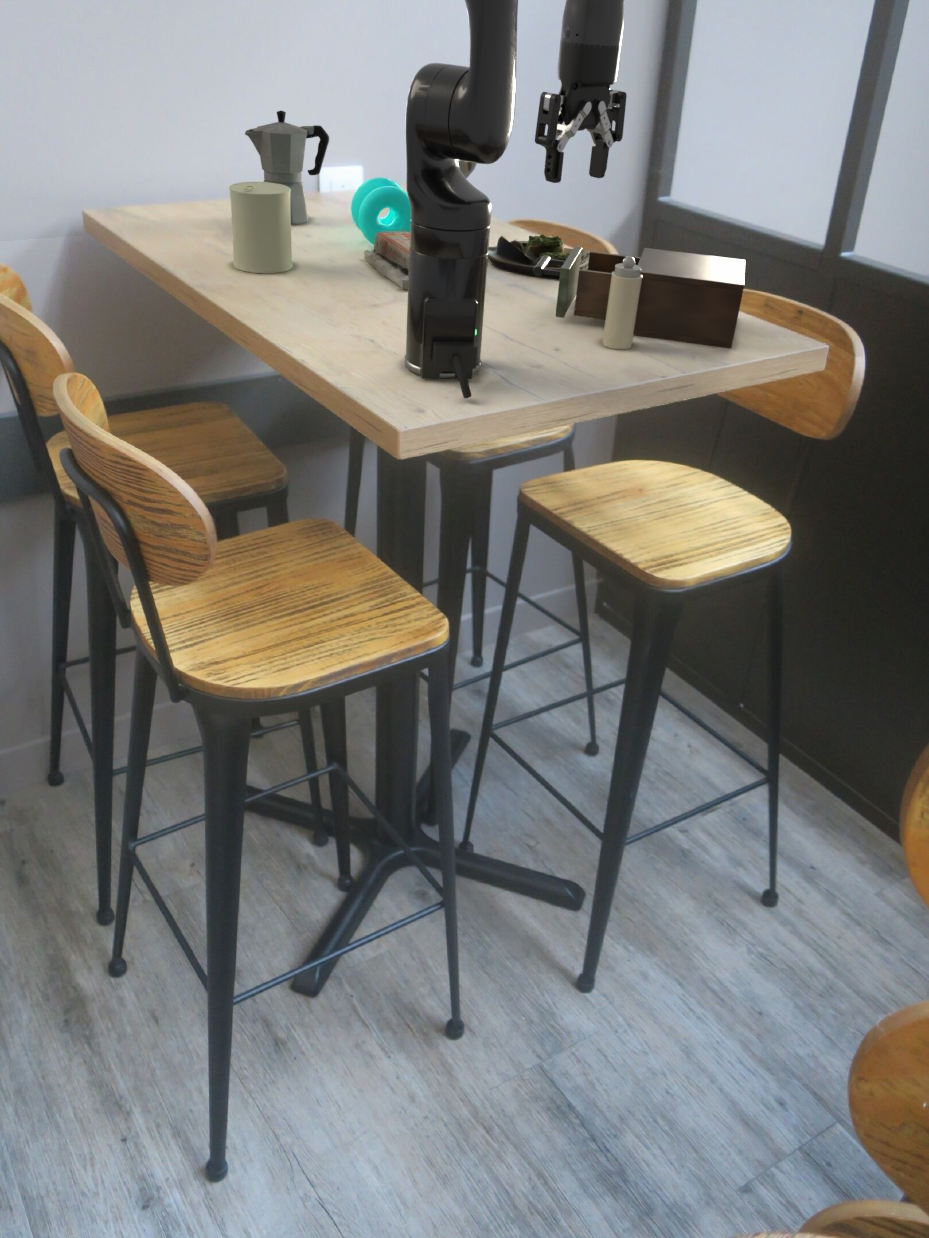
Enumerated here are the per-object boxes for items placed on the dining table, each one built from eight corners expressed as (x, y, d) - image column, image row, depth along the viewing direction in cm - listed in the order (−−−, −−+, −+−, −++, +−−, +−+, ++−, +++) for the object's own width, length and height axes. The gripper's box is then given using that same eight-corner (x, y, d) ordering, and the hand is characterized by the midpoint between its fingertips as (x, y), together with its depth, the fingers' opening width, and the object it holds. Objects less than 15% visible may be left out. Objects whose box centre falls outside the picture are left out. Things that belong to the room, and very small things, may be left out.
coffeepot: (257, 227, 185) (253, 115, 175) (241, 215, 192) (235, 106, 182) (338, 223, 191) (338, 115, 182) (320, 211, 198) (319, 107, 188)
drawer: (525, 313, 148) (530, 264, 145) (541, 289, 159) (546, 243, 156) (650, 329, 145) (658, 280, 142) (657, 304, 157) (665, 257, 153)
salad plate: (516, 243, 187) (519, 216, 185) (609, 260, 181) (613, 232, 178) (467, 264, 172) (469, 235, 170) (566, 284, 166) (570, 254, 164)
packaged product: (362, 229, 168) (420, 227, 171) (362, 260, 170) (418, 258, 174) (402, 258, 154) (464, 255, 158) (401, 291, 157) (462, 288, 160)
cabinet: (625, 334, 146) (635, 271, 141) (635, 306, 158) (644, 247, 153) (731, 348, 144) (744, 285, 139) (733, 319, 156) (745, 259, 151)
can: (220, 266, 162) (215, 184, 155) (257, 255, 169) (254, 175, 162) (269, 277, 158) (266, 193, 152) (304, 265, 165) (303, 184, 159)
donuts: (360, 250, 175) (360, 187, 170) (349, 236, 183) (349, 175, 178) (417, 250, 178) (420, 188, 172) (405, 236, 186) (407, 176, 180)
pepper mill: (635, 350, 140) (649, 260, 134) (606, 349, 140) (618, 259, 133) (627, 340, 144) (640, 253, 137) (598, 339, 143) (611, 252, 137)
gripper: (574, 43, 122) (558, 189, 131) (651, 43, 131) (631, 180, 140) (529, 36, 127) (516, 178, 136) (606, 36, 135) (589, 170, 144)
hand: (575, 179), depth 138 cm, fingers open, 8 cm apart
